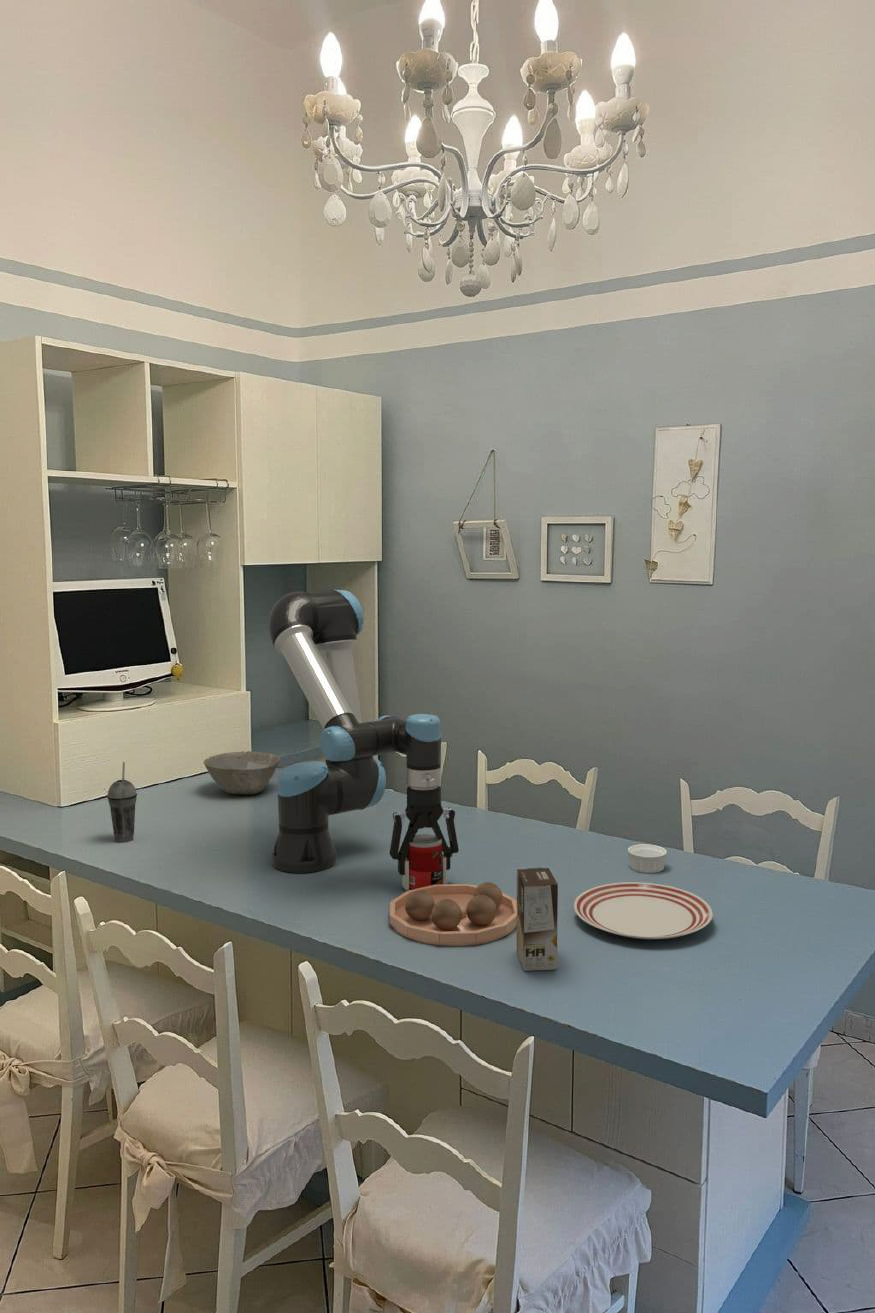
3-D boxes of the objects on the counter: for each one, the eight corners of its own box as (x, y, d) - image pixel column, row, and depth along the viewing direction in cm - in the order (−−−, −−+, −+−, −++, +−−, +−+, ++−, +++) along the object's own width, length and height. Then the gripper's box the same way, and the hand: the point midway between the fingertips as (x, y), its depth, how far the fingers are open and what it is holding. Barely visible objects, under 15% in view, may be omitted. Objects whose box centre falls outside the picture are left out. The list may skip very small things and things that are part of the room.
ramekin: (666, 875, 227) (667, 857, 227) (627, 873, 229) (627, 855, 228) (665, 863, 236) (666, 845, 235) (627, 860, 237) (628, 843, 237)
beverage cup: (103, 842, 252) (99, 765, 249) (122, 834, 259) (118, 758, 256) (126, 845, 249) (122, 767, 247) (145, 837, 256) (141, 761, 253)
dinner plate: (686, 962, 183) (687, 945, 182) (551, 930, 197) (551, 914, 197) (729, 913, 206) (729, 897, 205) (605, 887, 220) (605, 873, 220)
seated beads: (394, 925, 197) (394, 896, 196) (437, 895, 213) (437, 868, 212) (477, 943, 189) (477, 913, 188) (515, 910, 205) (515, 882, 204)
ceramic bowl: (245, 806, 283) (244, 772, 282) (188, 795, 296) (187, 762, 294) (296, 789, 302) (296, 757, 300) (241, 779, 314) (240, 748, 313)
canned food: (438, 894, 216) (438, 845, 214) (402, 892, 217) (402, 843, 216) (445, 882, 223) (445, 834, 222) (410, 879, 225) (410, 832, 223)
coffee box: (558, 970, 179) (559, 884, 177) (523, 972, 179) (523, 885, 176) (548, 948, 188) (549, 867, 186) (514, 950, 188) (515, 868, 185)
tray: (365, 930, 197) (365, 918, 197) (428, 887, 220) (428, 877, 219) (484, 956, 185) (484, 943, 185) (538, 908, 208) (538, 897, 207)
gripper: (381, 794, 211) (383, 897, 214) (474, 786, 217) (474, 886, 220) (373, 785, 218) (374, 885, 221) (463, 777, 224) (463, 875, 227)
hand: (424, 886), depth 220 cm, fingers closed on canned food, 8 cm apart
